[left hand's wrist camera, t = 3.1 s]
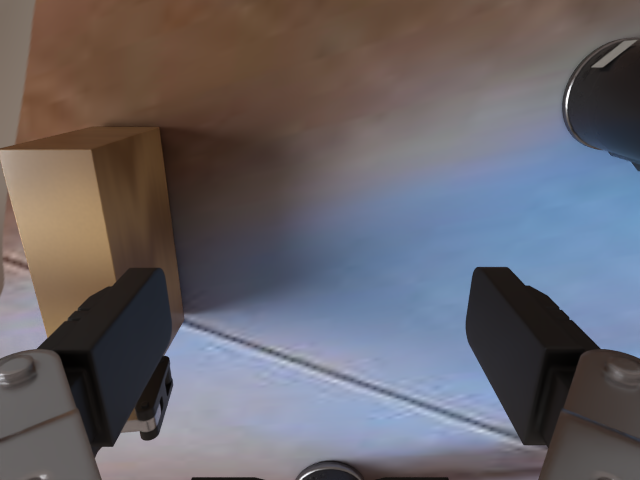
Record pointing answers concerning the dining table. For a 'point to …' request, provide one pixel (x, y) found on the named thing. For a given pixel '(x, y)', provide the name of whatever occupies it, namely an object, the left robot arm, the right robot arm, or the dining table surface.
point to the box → (91, 214)
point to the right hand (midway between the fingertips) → (118, 336)
